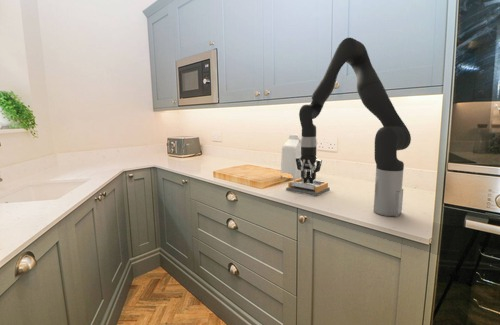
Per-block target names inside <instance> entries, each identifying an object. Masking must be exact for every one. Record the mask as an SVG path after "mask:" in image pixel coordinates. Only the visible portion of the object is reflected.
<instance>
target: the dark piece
mask: <svg viewBox="0 0 500 325" xmlns="http://www.w3.org/2000/svg"><path fill="white" fill-rule="evenodd" d="M304 169H305V176H304V179H303V181H300V182H304V183H311V184H313V180H312V171H311V169H310V166H309V164H305V165H304ZM306 170H307V174H306Z"/></svg>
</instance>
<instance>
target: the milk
mask: <svg viewBox="0 0 500 325" xmlns="http://www.w3.org/2000/svg"><path fill="white" fill-rule="evenodd" d="M288 136H289V137H288V138H287V140H286V141H285V142H284V144H283V145H282V146H281V147H282V148H281V162H280V163H281V164H280V174H281V173H288V174H291V175H292V176H293V179H292V181H293V180H296V179H299V178H302V177H301V171H300V170H298V169H297V164H296V158H301V138H300V137H301V136H300V135H299V134H289V135H288ZM301 165H302V161H301ZM306 174H307V170H306Z"/></svg>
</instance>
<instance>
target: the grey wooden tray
mask: <svg viewBox="0 0 500 325" xmlns="http://www.w3.org/2000/svg"><path fill="white" fill-rule="evenodd" d="M291 181H292V182H291V186H297V187H302V188H307V189H313V190H315V187H316V186H318V185H321V184H323V183H326V182H325V181H323V180H316V179H315V180H313V184H311V183H304V182H293V180H291ZM301 181H303V179H302V178H301Z"/></svg>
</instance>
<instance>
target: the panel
mask: <svg viewBox="0 0 500 325" xmlns="http://www.w3.org/2000/svg"><path fill="white" fill-rule="evenodd" d="M292 181H293V182H300V181H301V178H299V179H296V180H293V179H292V180H291V181H288V183H287V184H288V185H287V187H286V188H285V190H286V191H288V192H293V193H299V194H303V195H307V196H308V195H309V196H314V197H318V196H319V195H322V194H324V193H326V192H329V191H330V189H331V188H330V187H328V186H329V182H325V183H323V184H321V185H318V186H316V187H315V190H313V189H307V188H302V187H297V186H291V182H292Z"/></svg>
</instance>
